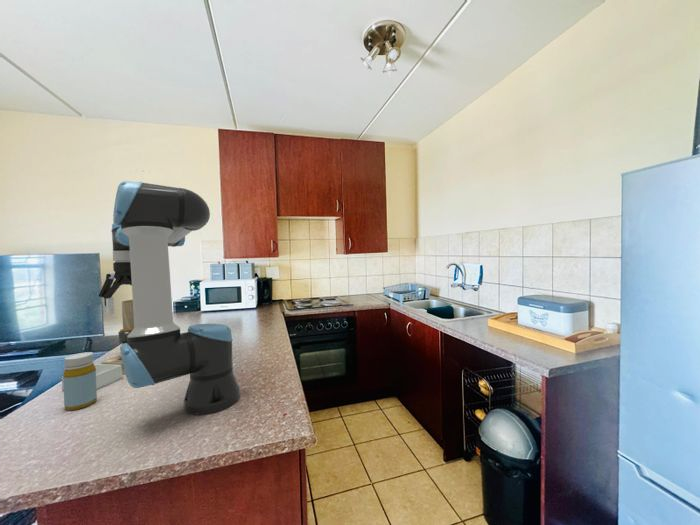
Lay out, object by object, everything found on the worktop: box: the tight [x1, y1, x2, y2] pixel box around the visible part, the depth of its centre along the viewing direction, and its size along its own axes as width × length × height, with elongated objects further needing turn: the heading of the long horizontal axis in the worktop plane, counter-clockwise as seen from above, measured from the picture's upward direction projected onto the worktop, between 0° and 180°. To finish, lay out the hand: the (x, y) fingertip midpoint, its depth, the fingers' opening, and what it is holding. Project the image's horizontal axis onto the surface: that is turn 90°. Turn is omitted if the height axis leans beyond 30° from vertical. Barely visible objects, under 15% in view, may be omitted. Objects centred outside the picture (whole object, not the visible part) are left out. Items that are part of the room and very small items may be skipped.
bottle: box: [62, 351, 98, 411], centre depth 83 cm, size 7×7×15 cm
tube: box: [121, 299, 134, 329], centre depth 128 cm, size 10×10×25 cm
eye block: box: [100, 355, 126, 375], centre depth 112 cm, size 12×12×4 cm
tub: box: [61, 363, 123, 392], centre depth 97 cm, size 11×11×5 cm
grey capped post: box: [118, 328, 133, 345], centre depth 112 cm, size 6×6×16 cm
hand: (127, 313), depth 112 cm, fingers open, 13 cm apart
